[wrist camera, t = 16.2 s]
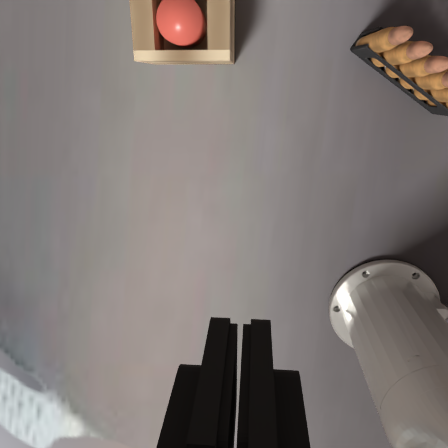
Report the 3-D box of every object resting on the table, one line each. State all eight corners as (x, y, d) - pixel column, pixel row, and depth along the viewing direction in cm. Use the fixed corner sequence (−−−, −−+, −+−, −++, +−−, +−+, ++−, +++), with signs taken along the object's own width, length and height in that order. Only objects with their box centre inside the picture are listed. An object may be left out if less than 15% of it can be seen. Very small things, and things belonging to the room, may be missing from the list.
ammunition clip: (349, 49, 36) (390, 35, 25) (362, 31, 36) (410, 9, 25) (433, 114, 38) (507, 128, 27) (447, 98, 37) (529, 105, 26)
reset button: (206, 1, 33) (200, -8, 29) (207, 47, 34) (201, 43, 30) (165, 2, 33) (154, -7, 29) (168, 48, 34) (157, 44, 31)
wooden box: (234, -6, 35) (230, -25, 29) (234, 64, 38) (229, 60, 31) (151, -4, 36) (127, -23, 30) (155, 64, 38) (134, 61, 32)
